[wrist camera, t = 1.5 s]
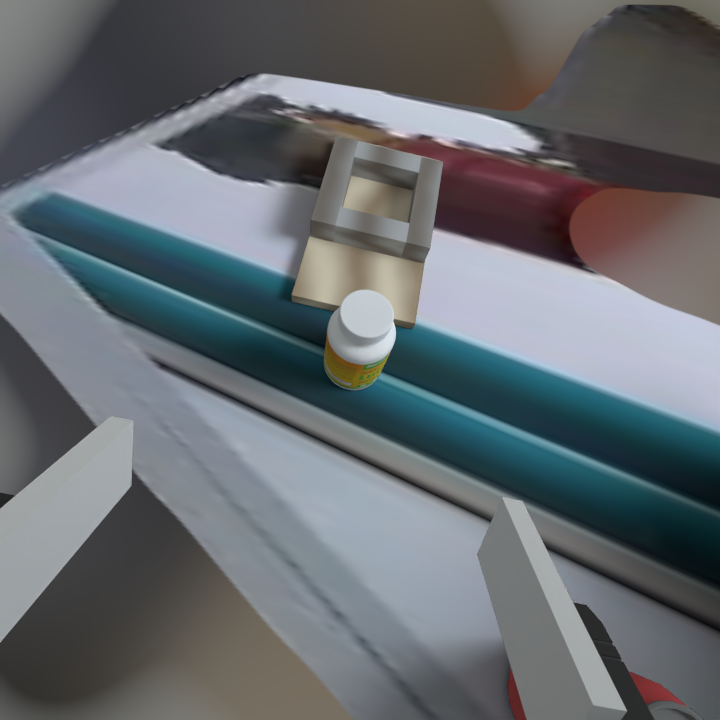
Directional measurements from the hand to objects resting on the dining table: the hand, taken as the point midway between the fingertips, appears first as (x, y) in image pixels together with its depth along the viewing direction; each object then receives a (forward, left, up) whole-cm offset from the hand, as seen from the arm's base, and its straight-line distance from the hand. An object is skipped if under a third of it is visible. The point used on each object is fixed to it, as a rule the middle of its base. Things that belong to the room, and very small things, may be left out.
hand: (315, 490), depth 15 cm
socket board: (0, -30, -20) cm, 36 cm away
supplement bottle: (-1, -14, -20) cm, 25 cm away
